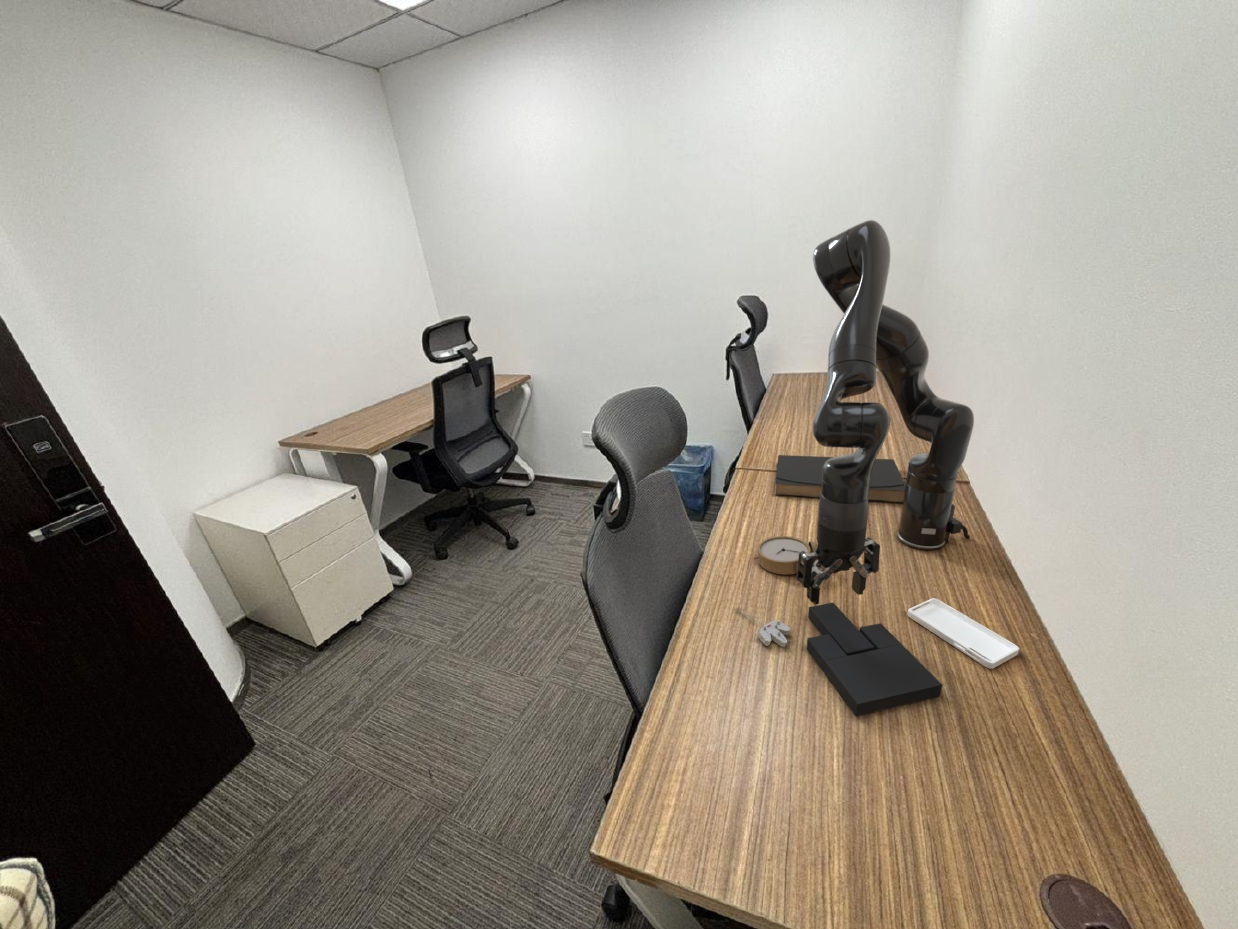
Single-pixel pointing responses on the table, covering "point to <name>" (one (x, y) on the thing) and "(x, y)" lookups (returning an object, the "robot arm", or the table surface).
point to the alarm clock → (782, 553)
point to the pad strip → (839, 628)
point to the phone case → (964, 633)
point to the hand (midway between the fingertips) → (835, 596)
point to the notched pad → (874, 672)
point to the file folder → (806, 478)
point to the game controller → (773, 633)
